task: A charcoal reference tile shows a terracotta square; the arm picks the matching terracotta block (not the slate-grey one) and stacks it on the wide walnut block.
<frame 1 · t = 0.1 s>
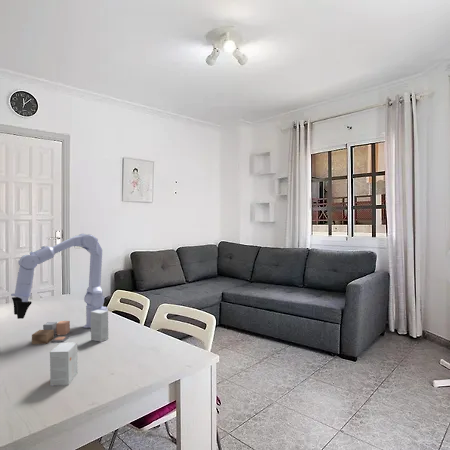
hand: (18, 316, 138), 11 cm above the table, tool pointing down, fingers open, 7 cm apart
walnut block: (43, 341, 138), on the table
reference tile: (60, 340, 140), on the table
terracotta block: (63, 333, 148), on the table
small box: (64, 380, 105), on the table
skincare box: (99, 340, 140), on the table
slate block: (50, 334, 146), on the table
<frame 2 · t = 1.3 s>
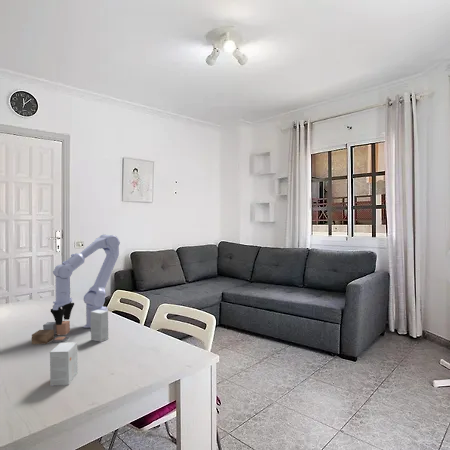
hand: (62, 322, 148), 5 cm above the table, tool pointing down, fingers open, 7 cm apart
nothing on the table moved.
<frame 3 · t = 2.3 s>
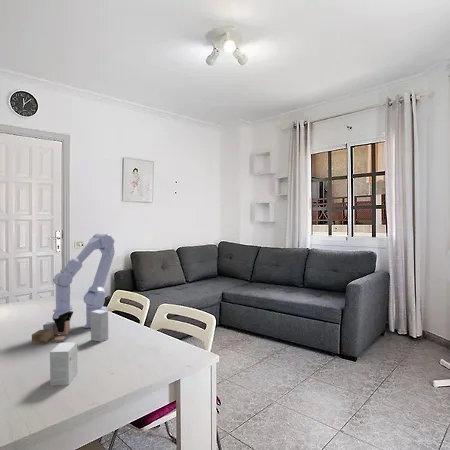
hand: (63, 330, 148), 1 cm above the table, tool pointing down, fingers closed on terracotta block, 4 cm apart
terracotta block: (63, 333, 148), on the table, touching gripper
everything else where it was.
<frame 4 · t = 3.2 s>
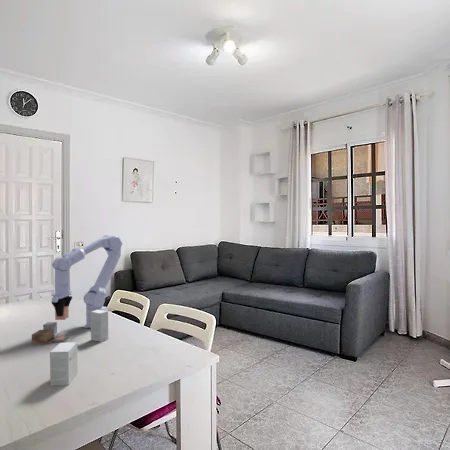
hand: (62, 314, 147), 8 cm above the table, tool pointing down, fingers closed on terracotta block, 4 cm apart
terracotta block: (62, 318, 147), point 7 cm above the table, touching gripper
everything else where it was.
when the fingers open (6 cm above the table, at t = 4.5 s): terracotta block stays where it is, resting on walnut block.
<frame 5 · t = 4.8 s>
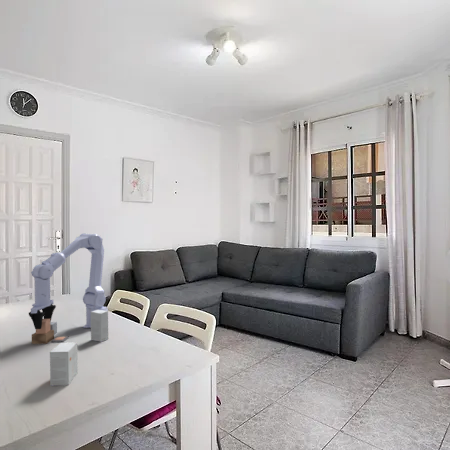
hand: (42, 325, 138), 6 cm above the table, tool pointing down, fingers open, 7 cm apart
walnut block: (43, 341, 138), on the table, touching terracotta block
terracotta block: (43, 332, 138), point 4 cm above the table, touching walnut block
everything else where it was.
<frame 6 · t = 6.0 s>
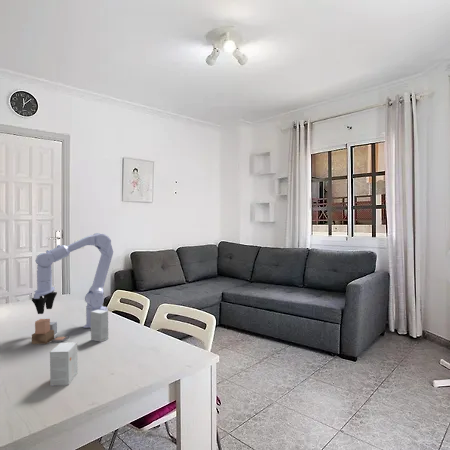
hand: (45, 311, 146), 10 cm above the table, tool pointing down, fingers open, 7 cm apart
nothing on the table moved.
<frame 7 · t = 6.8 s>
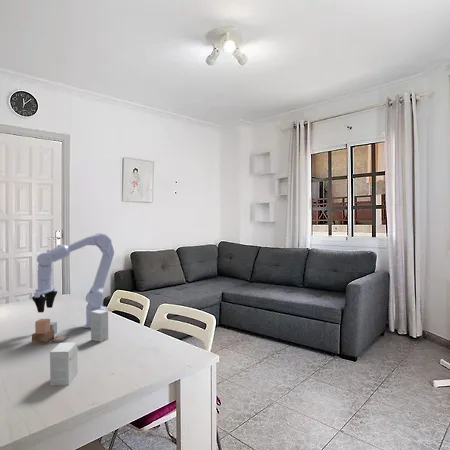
hand: (45, 309, 148), 10 cm above the table, tool pointing down, fingers open, 7 cm apart
nothing on the table moved.
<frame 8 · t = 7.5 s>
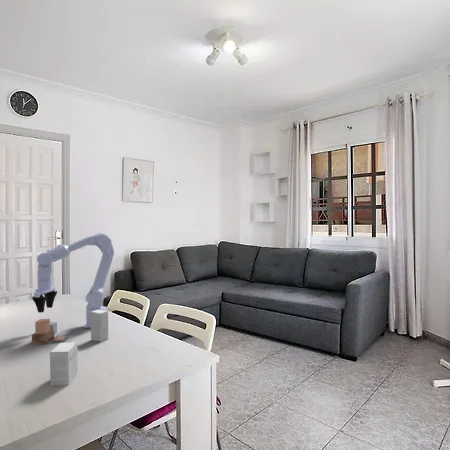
hand: (45, 309, 148), 10 cm above the table, tool pointing down, fingers open, 7 cm apart
nothing on the table moved.
at the end: terracotta block 0.0 cm off-centre on the walnut block, point 4.0 cm above the walnut block's base; terracotta block tilted 1°; the gripper is holding nothing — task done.
